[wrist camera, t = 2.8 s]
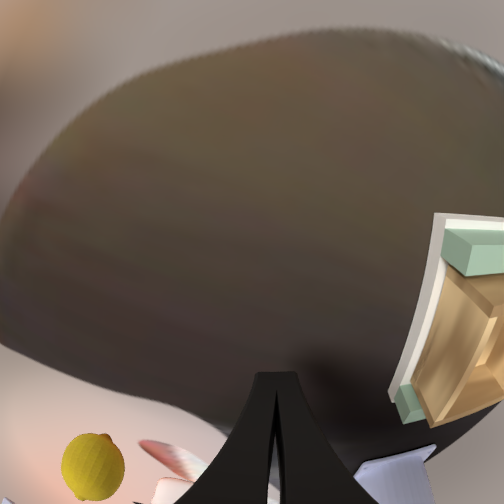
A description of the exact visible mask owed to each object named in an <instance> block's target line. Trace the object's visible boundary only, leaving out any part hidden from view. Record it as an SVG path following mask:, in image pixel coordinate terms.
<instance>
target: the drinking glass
mask: <svg viewBox="0 0 504 504" xmlns="http://www.w3.org/2000/svg"><path fill="white" fill-rule="evenodd" d="M193 484H194V483H191V482H188V481H185V480H181V479H176V478H161V479H160V480H159V481H158V482H157V485H156V489H155V492H154V495H153V497H152V500H151V503H150V504H174V503H175V502H176V501H177V500H178V499H179V498H180V497H181V496H182V495H183V494H184V493H185V492H186V491H187V490H188V489H189V488H190V487H191V486H192V485H193Z"/></svg>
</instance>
